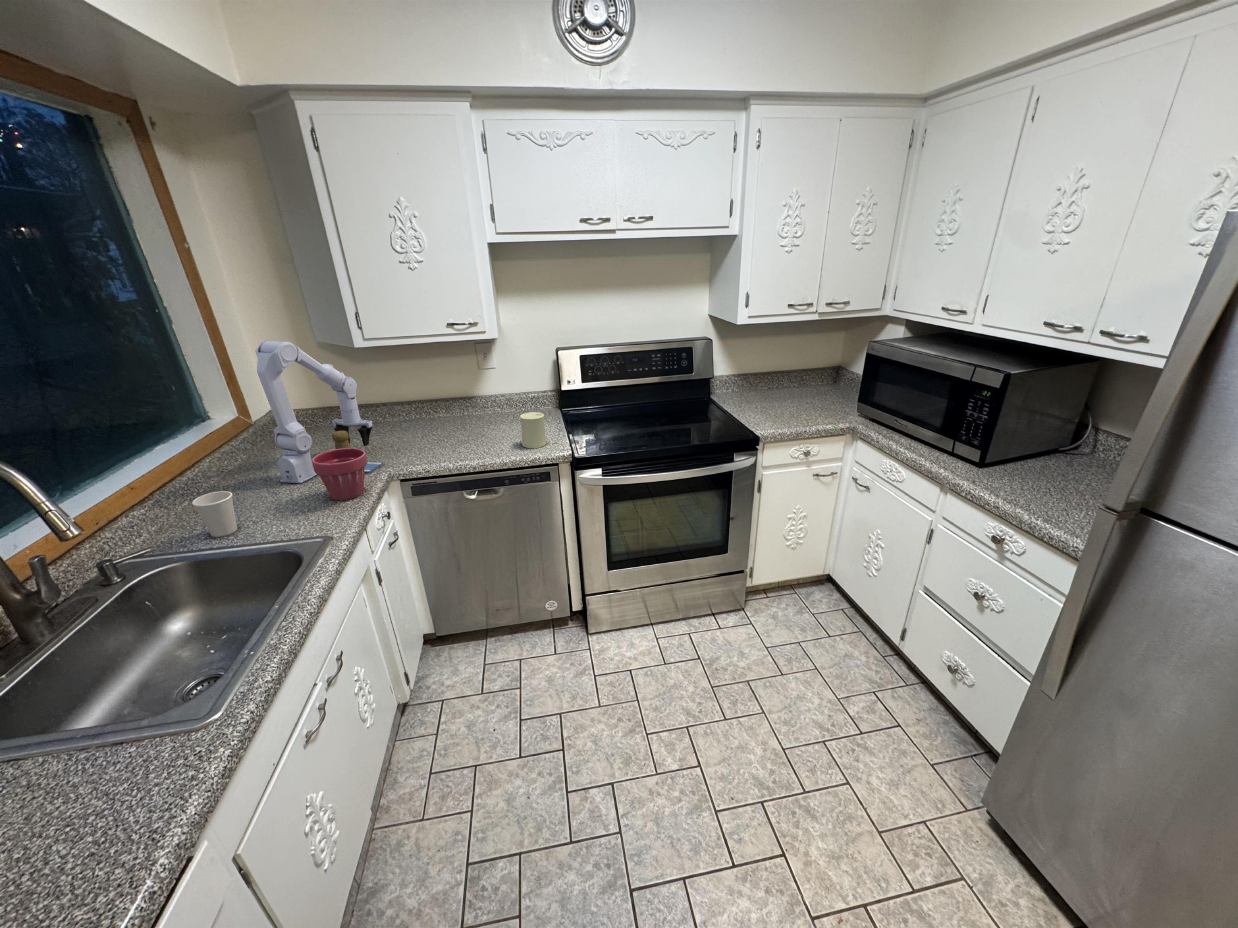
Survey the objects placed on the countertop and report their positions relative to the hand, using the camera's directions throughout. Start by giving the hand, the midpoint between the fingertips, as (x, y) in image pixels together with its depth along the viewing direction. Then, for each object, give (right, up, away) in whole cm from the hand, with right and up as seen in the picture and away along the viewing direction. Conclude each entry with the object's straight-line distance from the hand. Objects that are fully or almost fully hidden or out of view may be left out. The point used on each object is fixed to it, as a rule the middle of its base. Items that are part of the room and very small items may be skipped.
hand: (357, 444), depth 186 cm
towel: (+9, -9, -12) cm, 17 cm away
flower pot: (+13, -17, -31) cm, 38 cm away
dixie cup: (-8, -25, -52) cm, 59 cm away
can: (+64, 0, +9) cm, 65 cm away
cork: (-1, -6, -5) cm, 8 cm away
